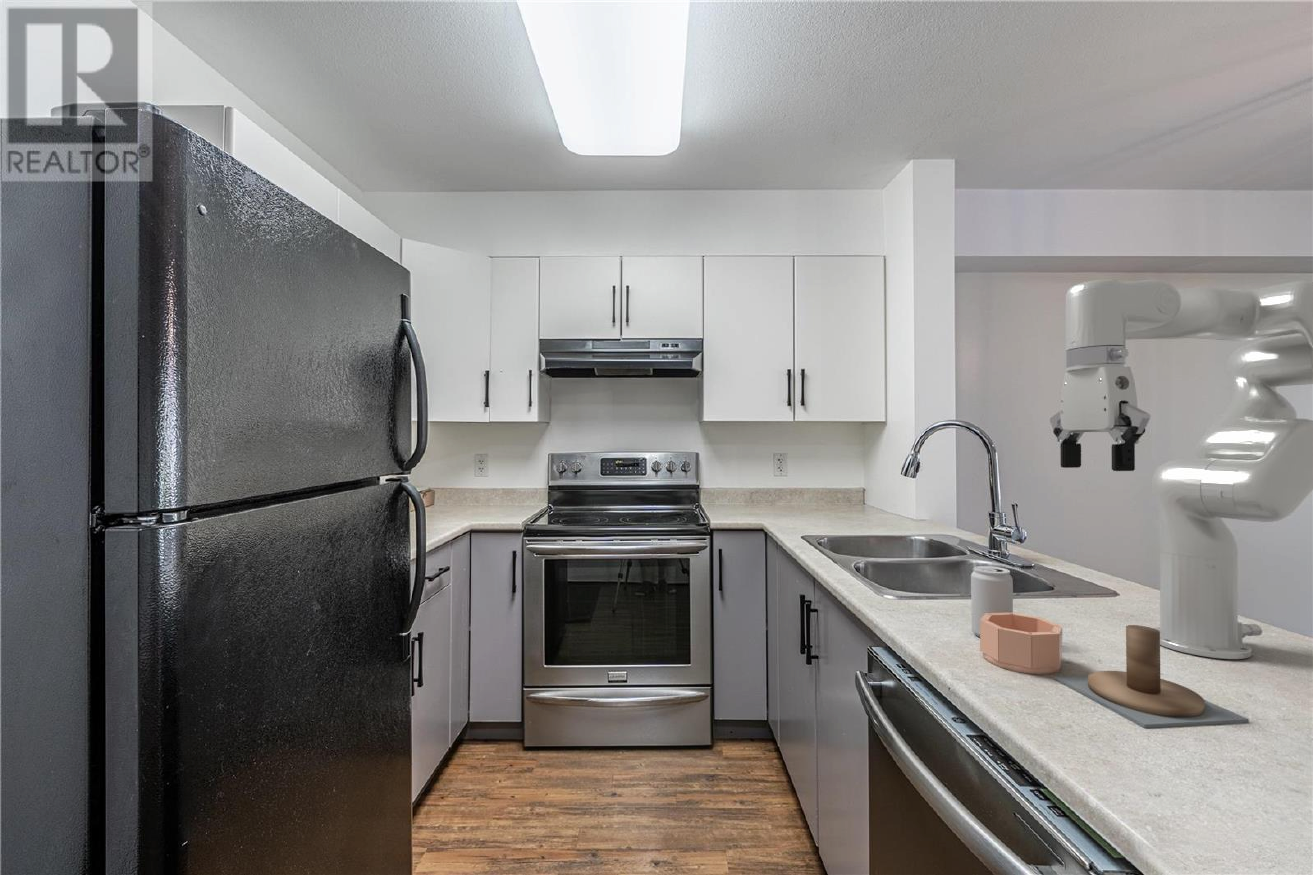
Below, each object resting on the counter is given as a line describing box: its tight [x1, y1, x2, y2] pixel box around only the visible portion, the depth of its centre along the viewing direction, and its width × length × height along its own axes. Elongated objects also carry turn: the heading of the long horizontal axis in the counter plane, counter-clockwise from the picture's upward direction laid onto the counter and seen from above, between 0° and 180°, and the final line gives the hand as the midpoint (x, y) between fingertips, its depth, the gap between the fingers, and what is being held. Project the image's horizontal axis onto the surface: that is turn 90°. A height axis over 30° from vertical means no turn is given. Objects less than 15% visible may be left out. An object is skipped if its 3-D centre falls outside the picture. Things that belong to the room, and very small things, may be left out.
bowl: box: [979, 612, 1063, 676], centre depth 91 cm, size 10×10×6 cm
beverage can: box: [970, 565, 1014, 638], centre depth 102 cm, size 6×6×12 cm
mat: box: [1054, 674, 1250, 729], centre depth 77 cm, size 14×14×1 cm
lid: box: [1088, 624, 1205, 717], centre depth 77 cm, size 12×12×9 cm
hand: (1095, 469), depth 91 cm, fingers open, 9 cm apart
